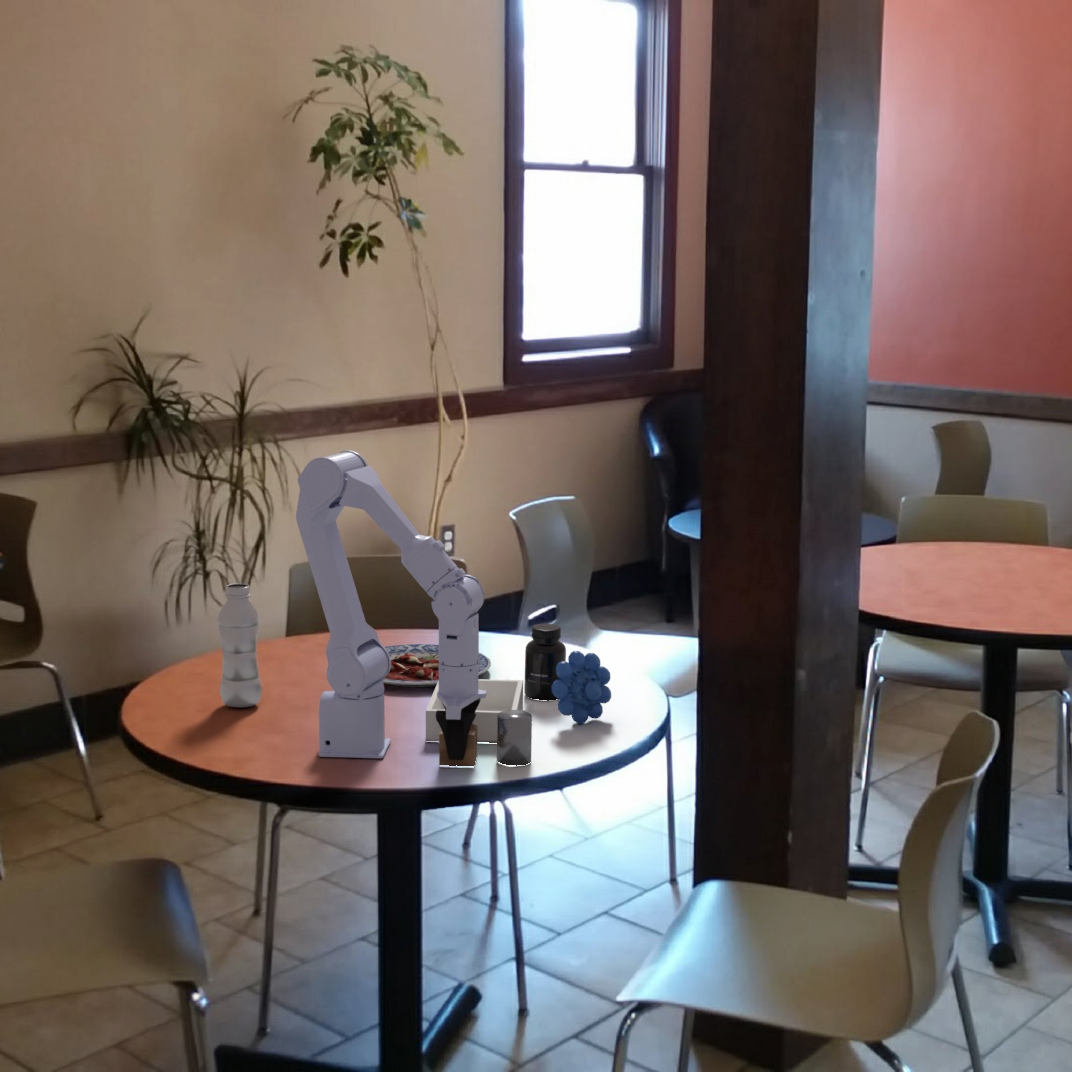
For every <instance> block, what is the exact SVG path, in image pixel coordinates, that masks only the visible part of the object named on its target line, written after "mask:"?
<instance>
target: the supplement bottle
mask: <svg viewBox="0 0 1072 1072" xmlns="http://www.w3.org/2000/svg"><path fill="white" fill-rule="evenodd" d="M561 632H562V629H561V626H559V625H557V624H553V623H539V624H538V623H536V624H534V625H532V627H531V638H532V640H530V641H529V642H528V643H527V644H526V646H525V655H524V656H525V657H524V683H523V694H524V695H525V696H526V698H528V697H529V698H528V699H530V698H532V699H531V700H533V699H539V700H547V701H546V702H550V701H549V700H555V701H557V700H556V699H559V698H557V697H555V696H554V695H553V693H552V684H553V683H554V681H556V680H561V679H560V678H558V676H557V674H556V666H557V665H558V663H560V662H562V661H564V662H567V660H566V659H567V658H566V657H567V648H566V646H565V644H564V643H563V642H562V641H561V640H560V639H562V635H561ZM559 700H560V699H559Z"/></svg>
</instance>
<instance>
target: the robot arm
mask: <svg viewBox="0 0 1072 1072" xmlns="http://www.w3.org/2000/svg"><path fill="white" fill-rule="evenodd" d="M297 483H298V486H299V494H298V500H297V507H296V513H295V519H296V524H297V527H298V530H299V534H300V537H301V540H302V543H303V547H304V550H305V554H306V557H307V560H308V564H309V566H310V567H309V568H310V570H311V574H312V577H313V580H314V584H315V586H316V589H317V590H316V591H317V594H318V597H319V600H320V601H319V602H320V604H321V607H322V610H323V615H324V617H325V621H326V624H327V627H328V630H329V638H328V642H327V646H326V649H325V655H326V658H327V669H326V677H327V678H326V679H327V681H328V685H329V686H330V687H331V689H332V690H325V691H322V693H321V695H320V700H319V706H318V707H319V708H318V734H319V736H318V737H319V738H318V741H319V742H318V743H319V744H318V745H319V749H318V750H319V752H318V757H320V758H321V757H322V758H350V759H351V758H353V759H354V758H356V759H357V758H358V759H360V758H361V759H383V758H384V757H385V755H386V752H387V750H388V748H389V746H390V743H391V742H392V740H391V739H392V738H389V737H385V736H386V735H385V732H386V731H385V727H386V726H385V725H386V724H385V717H386V716H385V685H384V683H383V679H384V678H385V677H386V676H387V675H388V673H389V671H390V668H391V658H390V655H389V653H388V651H387V649H386V648H385V647H386V646H384V645H383V644H382V643H381V641H380V639H379V635H378V632H377V631H376V630H375V628H373V627H372V626H371V625H369V624H368V623H367V622H366V618H365V614H364V612H363V607H362V604H361V602H360V599H359V598H360V597H359V594H358V590H357V588H356V584H355V581H354V578H353V575H352V571H351V569H350V567H351V566H350V565H349V561H348V558H347V553H346V551H345V548H344V543H343V541H342V538H341V534H340V531H339V527H338V524H337V519H338V517H339V516H340V514H341V513H342V511H343V509H344V508H345V507H348V508H349V507H350V508H355V509H360V510H363V511H365V512H366V515H368V516H369V517H370V518H371V519H372V520H373V521H374V522H375V523H376V525H377V526H378V527H380V528H381V530H382V531H383V532H384V533H385V534H386V535H387V536H388V537H389V539H391V541H393V543H394V544H396V545H397V547H398V548H399V549H400V554H401V555H400V561H401V563H402V565H403V566H404V567H405V569H406V570H407V571H408V572H409V573H410V575H411V576H412V577H413V579H415V581H416V582H417V583H418V584H419V585H420V587H421V588H422V589H423V590H424V592H426V593H427V596H429V597H430V598H431V599H433V600H432V601H431V609H432V611H433V614H434V615H435V616H436V618H437V620H438V645H439V690H438V691H437V697H438V698H439V700H440V701H441V702H442V704H443V706H444V708H445V711H441V710H437V712H436V720H437V722H438V723H439V725H440V727H441V729H442V732H443V735H444V739H445V744H446V749H447V754H448V757H449V760H463V759H464V756H465V752H466V746H467V740H468V734H469V730H470V727H471V725H472V723H473V721H474V719H475V717H476V714H475V711H476V709H477V707H478V705H479V703H480V700H481V698H486V696H487V691H486V690H479V689H478V680H479V679H480V678H479V676H480V675H479V653H480V652H479V651H480V647H479V644H480V643H479V641H480V640H479V638H480V636H479V635H480V633H479V632H480V630H479V612H478V611H479V610H480V609H481V608H482V607H483V604H484V602H485V590H484V589H483V586H482V585H481V583H480V581H479V579H478V578H476V577H475V576H473V575H470V574H466V573H467V572H466V571H465V569H464V568H462V567H461V568H459V567H458V566H457V564H456V563H455V562H454V561H453V560H452V559H451V557H450V556H449V555H448V553H446V551H445V550H444V549H445V548H446V546H445V544H444V543H443V542H442V540H436V539H435V538H434V537H433V536H431V535H422V534H420V533H419V532H418V530H417V529H416V528H415V526H414V525H413V524H412V523H411V521H410V520H409V518H408V517H407V516H406V515H405V513H404V512H403V510H402V509H401V508H400V506H399V505H398V503H396V501H395V500H394V498H393V497H392V496H391V494H390V493H389V491H388V490H387V489H386V488H385V487H384V485H383V483H382V482H381V479H380V478H379V475H378V473H377V471H376V470H375V469H374V468H373V467H372V466H371V465H368V463H367V461H366V459H365V458H364V457H363V456H362V455H361V454H360V453H358V452H356V451H353V450H342V451H340V452H338V453H335V454H330V455H326V456H320V457H315V458H314V459H312V460H309V462H308V463H307V464H306V465H305V467H304V468H303V470H302V472H301V473H300V474H299V476H298V478H297Z"/></svg>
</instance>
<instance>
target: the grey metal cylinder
mask: <svg viewBox="0 0 1072 1072" xmlns="http://www.w3.org/2000/svg"><path fill="white" fill-rule="evenodd" d="M532 723H533V714H532V713H531V712H529V711H526V710H523V711H522V710H507V711H502V712H500V713H498V714H497V745H496V762H497V761H498V762H500V763H502V764H506V765H516V766H517V765H526V764H528V763H530V762H531V763H532V738H533V737H532V733H533V732H532V731H533V727H532V725H533V724H532ZM531 763H530V764H531Z"/></svg>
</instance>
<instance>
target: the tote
mask: <svg viewBox="0 0 1072 1072" xmlns="http://www.w3.org/2000/svg"><path fill="white" fill-rule="evenodd" d="M478 689H479V690H486V691H487V696H486V698H481V700H480V703H479V705H478V707H477V709H476V711H475V714H476V717H475V719H474V721H473V723H472V724H477V742H489V743H497V714H498V713H500V712H502V711H507V710H522V711H524V680H522V679H521V680H520V679H483V678H482V679H481V678H479V680H478ZM438 690H439V681H438V683H437V685H436V686H435V688H434V690H433V693H432V694H431V697H430V699H429V703H428V704H427V707H426V708H425V742H426V741H439V733H440V731H441V727H440V725H439V723H438V722H437V720H436V712H437V710H441V711H445V708H444V706H443V704H442V702H441V701H440V700H439V698H438V697H437V691H438Z"/></svg>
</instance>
